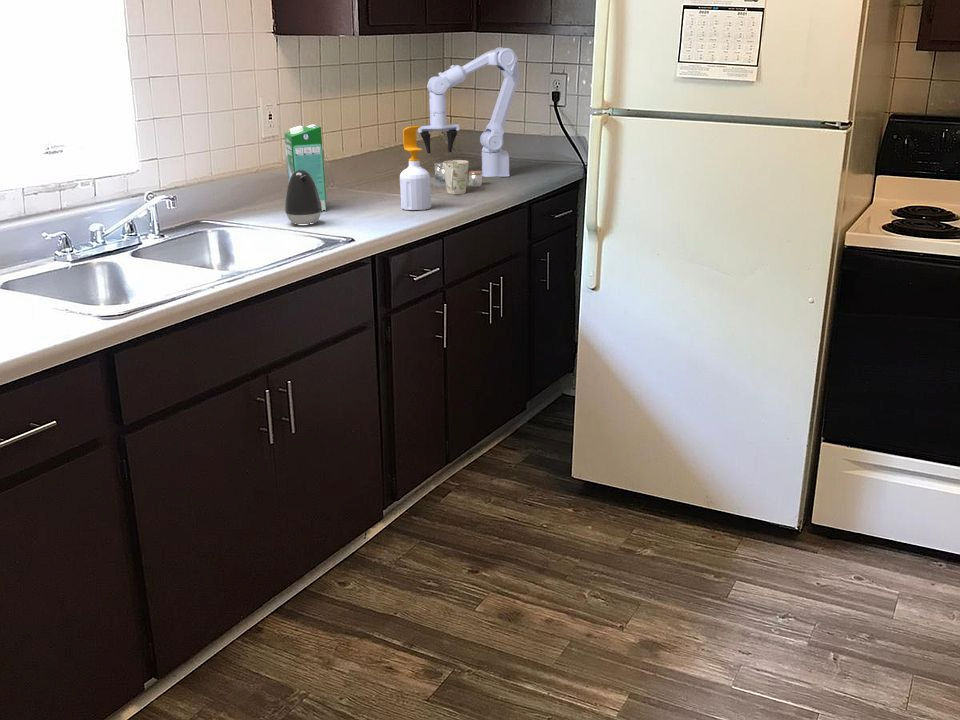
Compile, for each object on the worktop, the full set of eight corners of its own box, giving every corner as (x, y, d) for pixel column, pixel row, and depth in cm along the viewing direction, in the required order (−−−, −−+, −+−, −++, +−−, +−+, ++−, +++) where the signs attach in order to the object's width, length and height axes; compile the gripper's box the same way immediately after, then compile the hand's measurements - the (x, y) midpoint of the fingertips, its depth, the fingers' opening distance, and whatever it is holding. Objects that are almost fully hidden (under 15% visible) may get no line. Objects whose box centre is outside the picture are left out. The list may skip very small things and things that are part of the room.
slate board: (455, 177, 348) (455, 176, 347) (470, 185, 331) (470, 183, 331) (423, 180, 344) (423, 178, 344) (436, 188, 328) (436, 186, 328)
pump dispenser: (291, 229, 270) (286, 173, 265) (282, 222, 279) (278, 168, 274) (327, 225, 274) (323, 171, 269) (317, 218, 283) (313, 166, 278)
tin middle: (450, 179, 341) (449, 164, 339) (453, 181, 337) (453, 166, 335) (437, 180, 340) (437, 165, 338) (441, 182, 336) (440, 167, 334)
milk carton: (290, 209, 298) (283, 125, 289) (319, 206, 301) (313, 123, 293) (297, 214, 290) (290, 128, 282) (327, 211, 293) (321, 126, 285)
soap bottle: (408, 212, 289) (404, 127, 281) (396, 207, 297) (392, 125, 289) (435, 209, 293) (433, 125, 285) (423, 204, 301) (420, 123, 293)
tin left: (445, 176, 346) (445, 162, 344) (449, 178, 342) (448, 164, 340) (433, 177, 345) (432, 163, 343) (436, 179, 341) (436, 164, 339)
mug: (470, 190, 323) (469, 160, 319) (466, 197, 311) (465, 165, 308) (445, 190, 324) (444, 160, 320) (440, 197, 312) (439, 165, 308)
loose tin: (480, 185, 332) (480, 170, 330) (484, 187, 328) (484, 172, 326) (467, 186, 330) (467, 171, 329) (471, 188, 326) (471, 173, 325)
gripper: (454, 110, 343) (455, 149, 347) (414, 112, 339) (416, 152, 343) (460, 112, 337) (461, 152, 341) (420, 114, 332) (421, 154, 337)
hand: (439, 152), depth 342 cm, fingers open, 7 cm apart
